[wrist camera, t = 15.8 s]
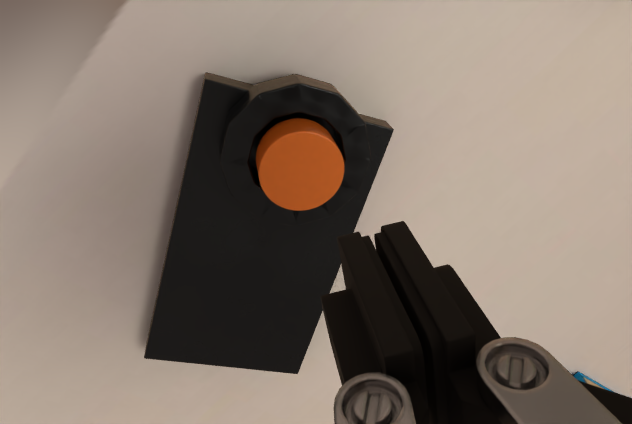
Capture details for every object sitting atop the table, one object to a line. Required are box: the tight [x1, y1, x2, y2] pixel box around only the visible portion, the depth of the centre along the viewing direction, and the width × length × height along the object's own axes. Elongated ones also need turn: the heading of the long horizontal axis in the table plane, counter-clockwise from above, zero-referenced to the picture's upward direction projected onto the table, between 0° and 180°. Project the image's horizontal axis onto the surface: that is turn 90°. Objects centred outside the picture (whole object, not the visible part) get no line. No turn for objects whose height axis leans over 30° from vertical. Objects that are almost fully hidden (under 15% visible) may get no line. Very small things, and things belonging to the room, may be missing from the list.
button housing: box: [144, 72, 394, 374], centre depth 25 cm, size 17×9×3 cm, turn 162°
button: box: [256, 118, 344, 211], centre depth 21 cm, size 4×4×2 cm
